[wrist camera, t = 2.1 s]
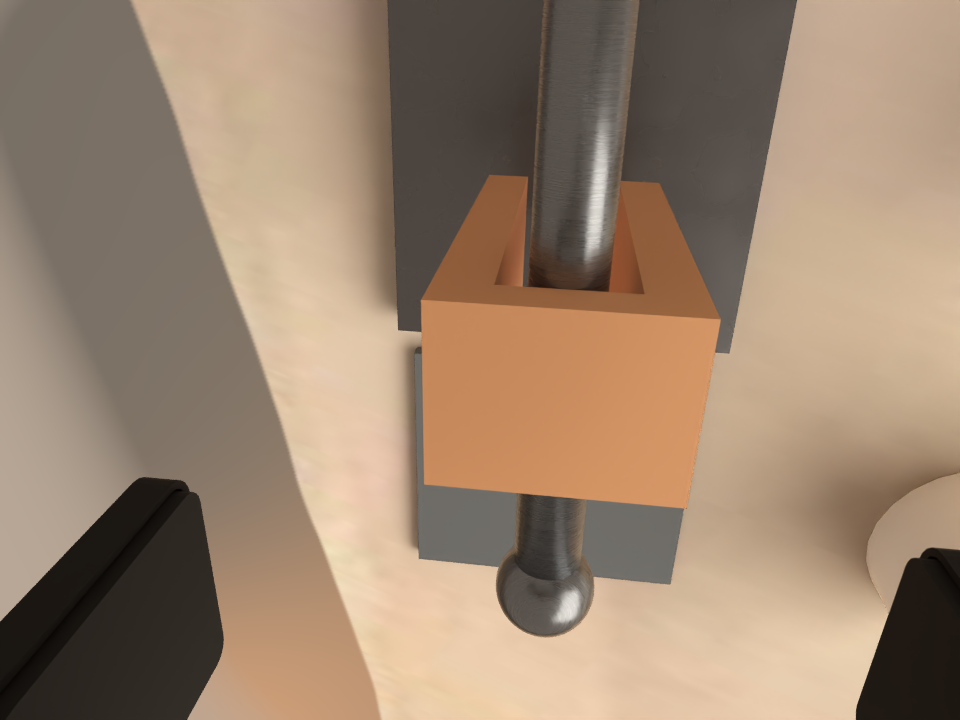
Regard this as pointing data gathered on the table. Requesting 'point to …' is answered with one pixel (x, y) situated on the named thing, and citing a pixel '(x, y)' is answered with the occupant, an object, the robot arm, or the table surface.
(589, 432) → the hook link
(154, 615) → the robot arm
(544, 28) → the hanger stand
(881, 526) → the base with upright slab
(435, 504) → the rubber mat
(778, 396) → the table surface
